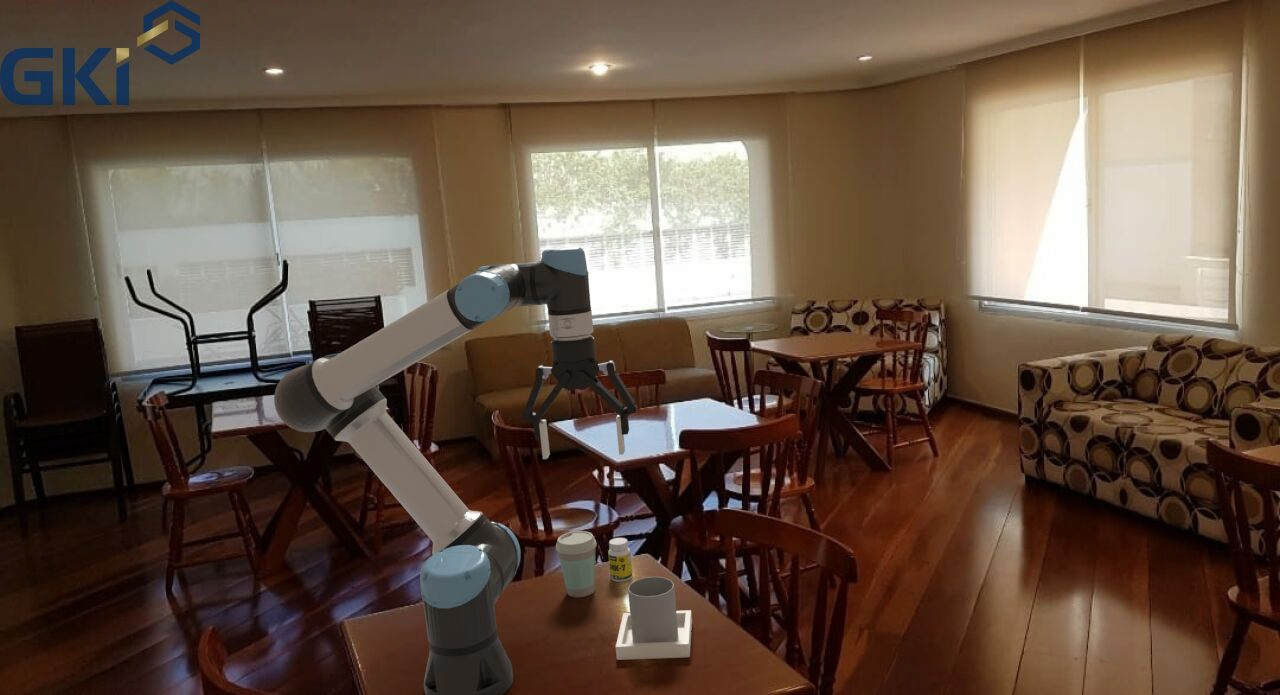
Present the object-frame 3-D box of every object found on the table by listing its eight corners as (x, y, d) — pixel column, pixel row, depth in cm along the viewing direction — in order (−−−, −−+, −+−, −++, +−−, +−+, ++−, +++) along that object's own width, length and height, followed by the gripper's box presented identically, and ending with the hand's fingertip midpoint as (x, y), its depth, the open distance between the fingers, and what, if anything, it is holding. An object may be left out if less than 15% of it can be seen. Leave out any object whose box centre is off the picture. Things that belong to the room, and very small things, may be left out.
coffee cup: (585, 579, 197) (579, 527, 195) (609, 590, 190) (603, 536, 188) (552, 592, 191) (546, 539, 189) (576, 604, 185) (570, 548, 183)
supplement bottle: (607, 582, 194) (604, 544, 193) (614, 572, 199) (611, 536, 197) (628, 582, 193) (625, 545, 191) (635, 573, 197) (631, 537, 196)
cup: (674, 649, 162) (669, 596, 160) (629, 648, 163) (624, 596, 162) (680, 626, 170) (676, 576, 168) (637, 626, 172) (633, 576, 170)
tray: (616, 659, 161) (615, 646, 161) (624, 625, 174) (623, 613, 173) (689, 657, 160) (688, 643, 159) (692, 622, 172) (691, 610, 172)
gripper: (496, 345, 154) (510, 465, 158) (641, 335, 152) (652, 456, 155) (506, 338, 162) (519, 452, 165) (645, 328, 159) (655, 444, 163)
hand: (584, 454), depth 160 cm, fingers open, 13 cm apart
